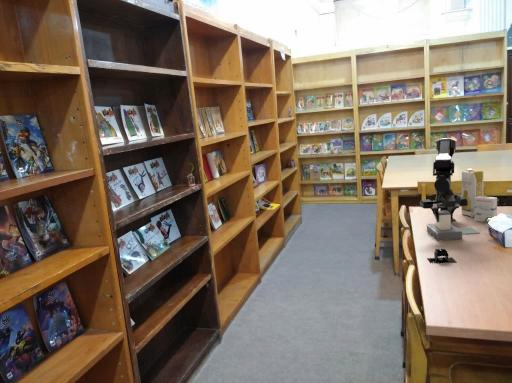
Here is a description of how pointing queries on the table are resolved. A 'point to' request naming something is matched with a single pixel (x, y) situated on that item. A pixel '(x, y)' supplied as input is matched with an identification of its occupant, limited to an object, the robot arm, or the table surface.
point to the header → (444, 232)
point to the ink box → (485, 208)
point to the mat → (468, 231)
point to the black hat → (441, 259)
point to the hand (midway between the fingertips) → (443, 221)
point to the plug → (444, 220)
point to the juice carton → (471, 189)
